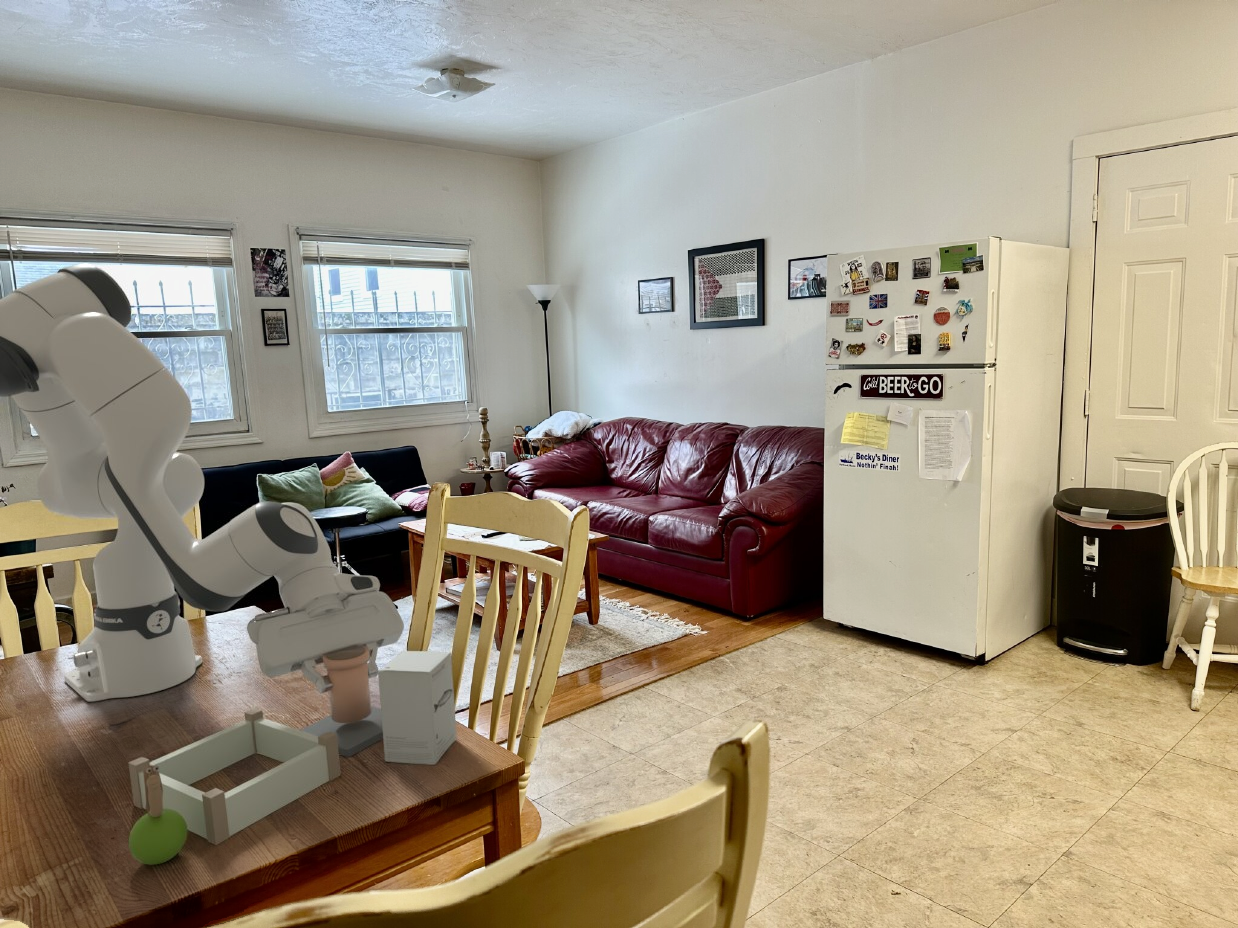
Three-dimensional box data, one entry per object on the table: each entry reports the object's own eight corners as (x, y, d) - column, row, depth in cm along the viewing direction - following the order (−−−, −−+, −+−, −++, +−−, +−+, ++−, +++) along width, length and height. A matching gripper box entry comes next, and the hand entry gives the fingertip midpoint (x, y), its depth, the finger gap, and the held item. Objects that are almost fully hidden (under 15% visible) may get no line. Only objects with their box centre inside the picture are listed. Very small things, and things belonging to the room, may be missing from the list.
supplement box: (436, 766, 105) (429, 672, 104) (383, 762, 107) (375, 669, 105) (459, 739, 112) (452, 650, 111) (408, 736, 114) (401, 648, 112)
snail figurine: (136, 887, 83) (121, 776, 82) (129, 857, 88) (115, 752, 87) (195, 865, 86) (182, 759, 85) (185, 838, 92) (172, 736, 90)
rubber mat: (295, 739, 114) (294, 732, 114) (357, 708, 124) (357, 702, 123) (348, 757, 109) (347, 750, 108) (409, 723, 118) (409, 716, 118)
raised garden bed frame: (134, 805, 99) (128, 762, 98) (259, 745, 113) (254, 707, 112) (216, 845, 90) (210, 798, 89) (340, 774, 104) (336, 733, 103)
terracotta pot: (318, 719, 115) (312, 656, 113) (353, 701, 120) (347, 641, 119) (350, 727, 112) (344, 662, 110) (384, 709, 117) (378, 647, 116)
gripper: (246, 606, 112) (278, 695, 106) (387, 574, 125) (422, 652, 119) (239, 629, 116) (270, 717, 110) (376, 596, 129) (410, 673, 123)
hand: (350, 682), depth 115 cm, fingers closed on terracotta pot, 5 cm apart
